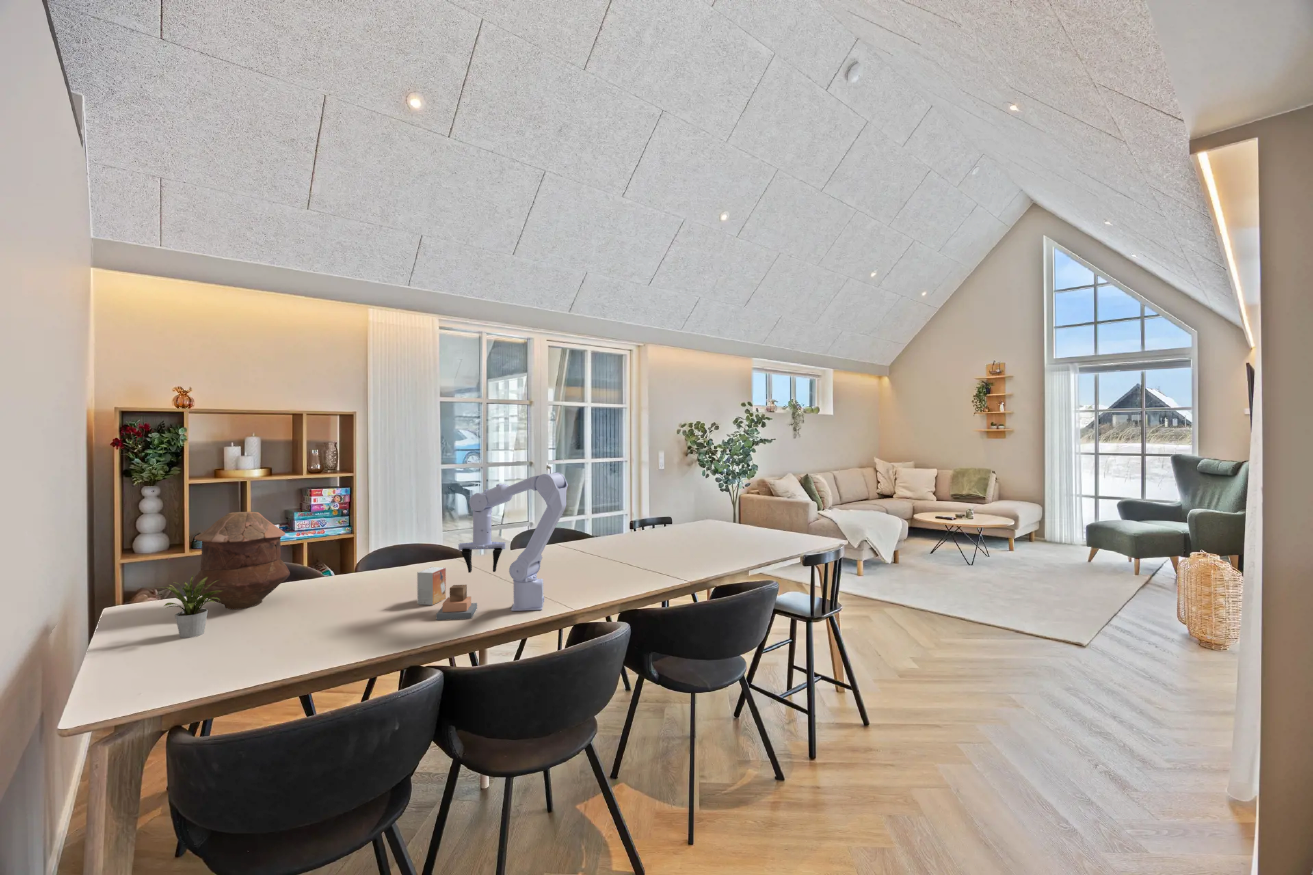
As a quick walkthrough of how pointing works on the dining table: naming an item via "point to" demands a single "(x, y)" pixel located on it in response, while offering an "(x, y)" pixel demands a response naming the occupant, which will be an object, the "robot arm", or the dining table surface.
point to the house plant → (192, 609)
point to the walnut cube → (458, 592)
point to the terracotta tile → (456, 605)
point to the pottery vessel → (241, 559)
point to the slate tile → (457, 613)
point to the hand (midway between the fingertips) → (482, 571)
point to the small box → (431, 585)
